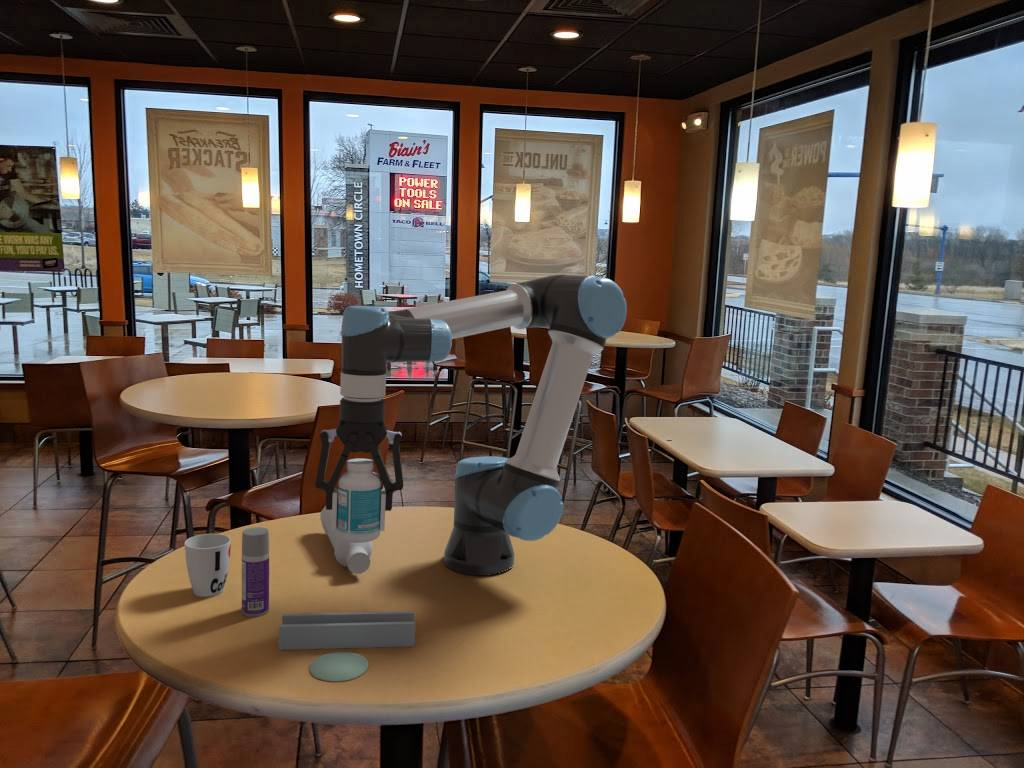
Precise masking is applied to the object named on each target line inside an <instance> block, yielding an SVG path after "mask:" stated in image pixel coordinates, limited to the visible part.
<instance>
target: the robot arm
mask: <svg viewBox="0 0 1024 768" xmlns="http://www.w3.org/2000/svg"><path fill="white" fill-rule="evenodd" d="M627 308H628V307H627V300H626V298H625V297H624V292H623V290H622V289H621V288H620V286H619V285H618V284H617V283H616V282H615V281H613V280H612V279H610V278H607V277H600V276H597V275H573V274H553V275H548V276H543V277H539V278H535V279H531V280H527V281H523V282H519V283H518V282H517V283H514V284H511V285H509V286H508V287H507V288H506V290H501V291H498V292H496V291H495V292H490V293H485V294H484V293H483V294H480V295H473V296H470V297H465V298H457V299H453V300H448V301H442V302H437V303H431V304H426V305H420V306H413V307H410V308H405V309H399V310H398V309H397V310H393V311H389V310H388V309H387V308H386V307H383V306H373V305H349V306H348V307H346V308H345V309H344V311H343V313H342V315H343V316H342V322H341V323H342V324H341V331H340V335H341V368H340V369H341V370H340V389H339V390H340V395H341V397H342V398H341V399H340V400H339V423H338V426H337V427H336V428H333V429H327V428H324V429H322V431H321V432H320V435H319V436H320V442H321V448H320V449H321V450H320V455H319V461H318V468H317V472H316V473H317V474H316V479H315V484H314V487H315V488H317V489H320V490H323V491H324V493H325V506H326V509H327V510H332V530H336V529H337V503H338V488H335V487H336V484H337V483H338V479H339V477H340V476H341V475H342V471H343V468H344V466H345V465H346V464H347V461H348V458H349V455H350V454H351V453H359V452H361V453H365V454H370V455H371V458H373V459H372V460H373V461H374V465H375V467H376V471H377V472H378V475H379V476H380V477H381V480H382V486H383V487H384V489H382V490H381V516H380V532H384V531H385V528H386V527H385V526H386V512H387V511H389V512H392V510H393V495H394V493H395V492H397V491H402V490H403V489H404V479H403V478H404V476H403V466H402V457H401V447H400V446H401V443H402V438H403V437H402V436H403V435H402V432H401V431H399V430H398V431H391V430H388V429H387V427H386V424H385V415H386V412H385V410H386V401H385V399H384V397H386V387H387V386H386V385H387V366H388V365H387V364H388V363H428V364H429V363H431V362H432V363H433V362H441V361H443V360H445V359H447V357H448V356H449V355H450V353H451V349H452V345H453V344H452V343H453V339H458V338H464V337H469V336H473V335H478V334H482V333H486V332H488V333H489V332H492V331H496V330H501V329H505V328H506V329H507V328H511V327H513V328H514V329H517V330H525V329H529V328H540V329H541V328H543V329H548V332H547V333H548V335H549V337H550V339H551V342H552V343H551V347H550V350H549V351H548V355H547V358H546V362H545V364H544V368H543V370H542V374H541V376H540V380H539V383H538V386H537V389H536V392H535V395H534V398H533V401H532V404H531V407H530V410H529V413H528V416H527V419H526V422H525V425H524V428H523V430H522V434H521V437H520V439H519V440H520V441H519V444H518V446H517V449H516V452H515V454H514V455H513V456H512V457H510V458H507V457H505V456H497V455H496V456H490V455H489V456H473V457H466V458H463V459H461V460H459V461H458V462H457V463H456V466H455V467H456V468H455V474H454V481H455V482H454V502H453V503H454V505H453V507H454V508H453V509H454V510H453V527H452V530H451V533H450V536H449V538H448V540H447V543H446V546H445V548H444V553H443V554H444V556H443V559H444V560H443V563H444V565H445V566H446V567H447V568H449V569H451V570H452V571H454V572H456V573H461V574H466V575H471V576H489V575H488V574H494V575H496V574H495V573H499V572H502V571H505V570H507V569H509V568H510V567H512V566H513V564H514V565H515V555H516V554H515V551H514V547H513V543H512V539H511V537H512V538H517V539H519V540H522V541H526V542H527V541H528V542H535V541H539V540H541V539H543V538H544V537H545V536H548V535H549V534H550V533H551V532H553V530H555V528H556V527H557V525H559V522H560V520H561V518H562V516H563V511H564V502H563V501H562V500H563V498H562V495H561V494H560V491H558V488H559V486H560V482H561V477H560V475H559V473H558V471H557V466H558V464H559V460H560V458H561V454H562V452H563V449H564V445H565V442H566V440H567V436H568V433H569V429H570V427H571V425H572V422H573V418H574V415H575V412H576V410H577V407H578V404H579V403H578V402H579V400H580V397H581V393H582V391H583V387H584V385H585V381H586V379H587V375H588V373H589V369H590V366H591V363H592V360H593V357H594V356H595V355H596V354H598V353H600V352H603V350H604V348H605V345H606V343H607V339H610V338H612V337H614V336H616V334H617V333H618V334H619V333H620V331H621V330H622V329H623V327H624V325H625V322H626V320H627V319H626V318H627V314H628V313H627V311H628V309H627ZM335 437H337V438H339V440H340V441H341V443H342V444H343V445H344V447H343V449H342V451H341V454H339V455H340V456H339V458H338V460H337V462H336V465H335V467H334V469H333V471H332V474H331V476H330V478H329V480H325V476H326V471H327V468H328V467H327V466H328V461H329V455H330V449H331V443H333V442H334V440H335ZM385 438H387V440H388V444H389V445H391V446H392V447H391V451H392V461H393V468H394V469H393V470H394V476H395V477H394V478H395V481H394V482H392V480H391V476H390V475H389V471H388V469H387V467H386V464H385V460H384V459H383V456H382V454H381V449H380V447H379V445H380V444H381V443H382V442H383V440H384V439H385ZM513 567H514V566H513ZM513 567H512V568H513ZM499 574H500V573H499Z"/></svg>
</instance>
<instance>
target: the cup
mask: <svg viewBox="0 0 1024 768" xmlns="http://www.w3.org/2000/svg"><path fill="white" fill-rule="evenodd" d="M231 545H232V538H231V537H230V535H229V536H228V535H225V534H222V533H221V534H220V533H205V534H198V535H195V536H191V537H188V538H187V539H186V540H185V541H184V551H185V554H184V555H185V564H186V568H187V574H188V578H189V583H190V585H191V588H192V590H193V593H194V595H195V596H196V597H198V598H199V597H200V598H211V597H214V596H218V595H220V594H222V593H223V592H224V589H225V585H226V582H227V578H228V573H229V567H230V562H231V547H232V546H231Z"/></svg>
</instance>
